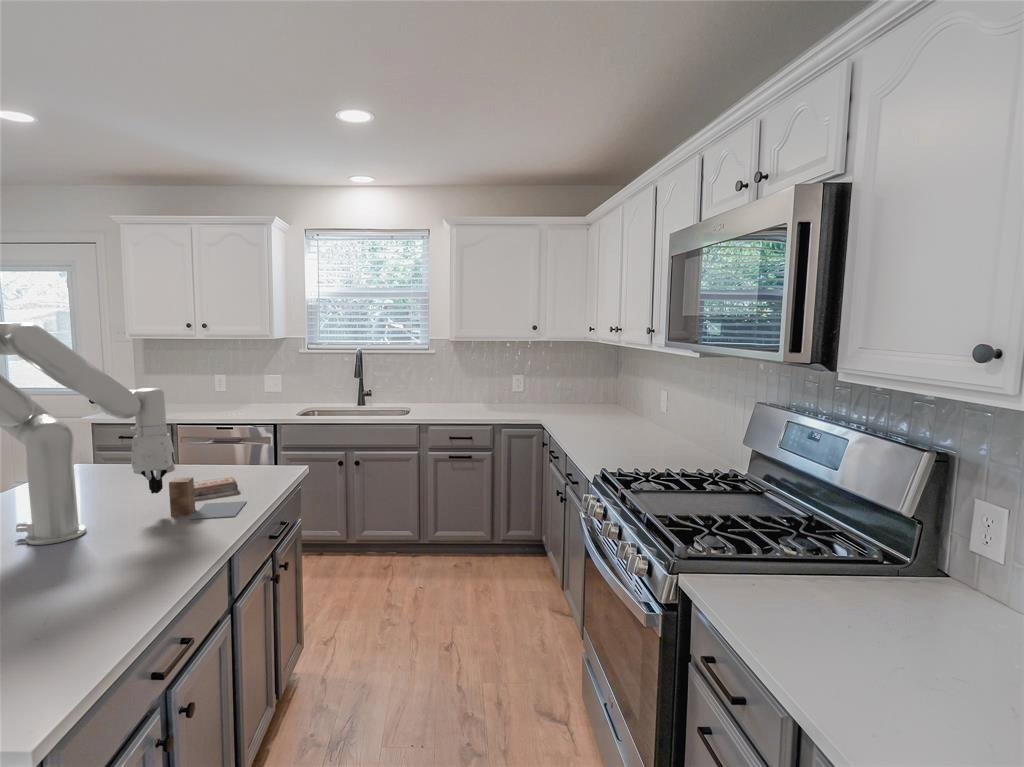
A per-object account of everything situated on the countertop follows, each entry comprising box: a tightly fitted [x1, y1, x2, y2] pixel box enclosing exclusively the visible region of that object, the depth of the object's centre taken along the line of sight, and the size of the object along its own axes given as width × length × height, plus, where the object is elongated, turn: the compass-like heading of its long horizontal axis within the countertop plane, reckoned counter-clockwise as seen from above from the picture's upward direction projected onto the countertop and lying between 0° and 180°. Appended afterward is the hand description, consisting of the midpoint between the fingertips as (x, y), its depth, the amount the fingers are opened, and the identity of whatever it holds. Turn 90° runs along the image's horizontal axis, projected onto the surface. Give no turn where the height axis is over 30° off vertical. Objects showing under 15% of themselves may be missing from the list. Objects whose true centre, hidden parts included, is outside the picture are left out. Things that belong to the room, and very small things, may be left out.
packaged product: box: [194, 476, 240, 501], centre depth 188 cm, size 18×5×10 cm
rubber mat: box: [189, 500, 248, 521], centre depth 172 cm, size 12×14×1 cm
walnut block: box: [168, 476, 196, 517], centre depth 170 cm, size 5×5×10 cm
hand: (156, 491), depth 168 cm, fingers closed
